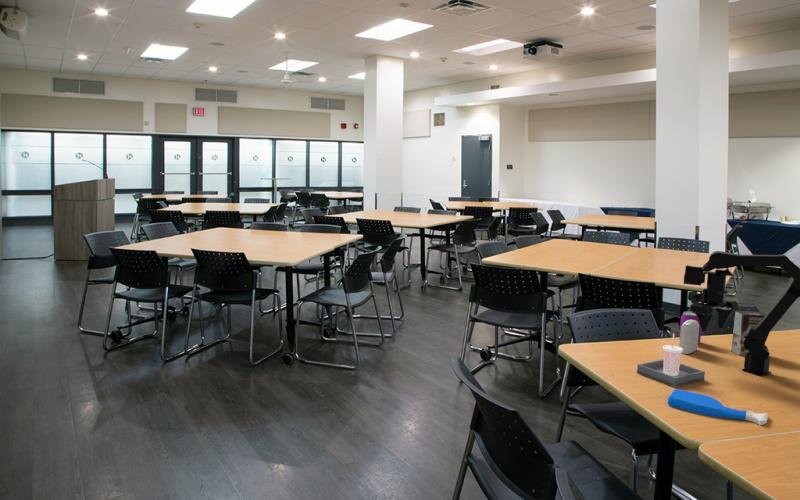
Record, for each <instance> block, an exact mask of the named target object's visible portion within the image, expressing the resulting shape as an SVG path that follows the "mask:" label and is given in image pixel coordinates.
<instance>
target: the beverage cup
mask: <svg viewBox="0 0 800 500" xmlns="http://www.w3.org/2000/svg"><path fill="white" fill-rule="evenodd" d="M671 343H672V345H671V344H666V345H663V346H662V350H663V357H662V358H663V373H665V374H668V375H670V376H677V375H678V374H679V367H680V363H681V359H682V354H683V353H682V351H683V349H682V348H681V347H679V346H677V345H675V332H673V333H672V341H671Z"/></svg>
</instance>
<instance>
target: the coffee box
mask: <svg viewBox="0 0 800 500" xmlns="http://www.w3.org/2000/svg"><path fill="white" fill-rule="evenodd" d="M734 314H735V315H734V322H733V330H732V332H733V333H732V341H731V348H730V349H731V351H732V352H733V353H735V354H736V355H737V356H744V357H745V356H746V353H748V352H749V351H748V350H747V349H745V347H744V345H743V332H745V331H746V330H747V329H748V327H749V325H752V326H753V327H754V326H756V325H757V324H758V323H760V321H761V320H762V319H763V318H764V316H765V315H766V314H767V313H763V312H760V311H748V310H747V311H744V310H743V311H742V310H735V312H734Z"/></svg>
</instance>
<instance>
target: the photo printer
mask: <svg viewBox="0 0 800 500" xmlns="http://www.w3.org/2000/svg"><path fill="white" fill-rule="evenodd" d="M698 334H699V323H698V322H697V321H696V320H687V321H686V322H684V323H683V325H682V326H681V334H680V333H679V337H680V338H679V346H678V347H681V348H682V349H683V351H682V353H681V354H683V355H684V354H685V355H689V354H691V353H694V352H695V351H697V350H698V345H699V343H698Z"/></svg>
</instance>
